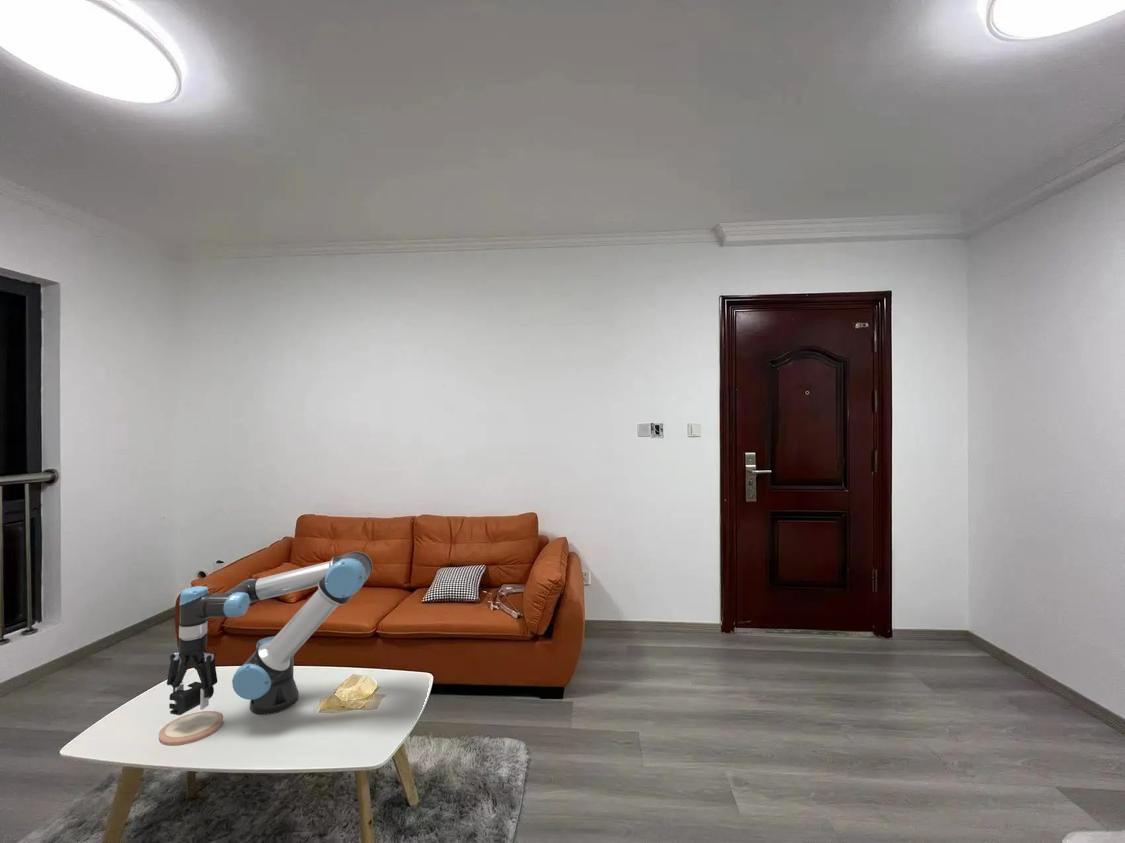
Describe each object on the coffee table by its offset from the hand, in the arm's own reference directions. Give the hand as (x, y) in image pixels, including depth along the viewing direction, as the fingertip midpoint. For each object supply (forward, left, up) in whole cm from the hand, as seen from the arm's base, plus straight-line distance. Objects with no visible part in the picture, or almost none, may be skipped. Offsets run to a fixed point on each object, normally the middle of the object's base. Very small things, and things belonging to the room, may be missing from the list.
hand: (191, 706), depth 167 cm
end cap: (0, 0, -1) cm, 1 cm away
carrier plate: (0, 0, -7) cm, 7 cm away
